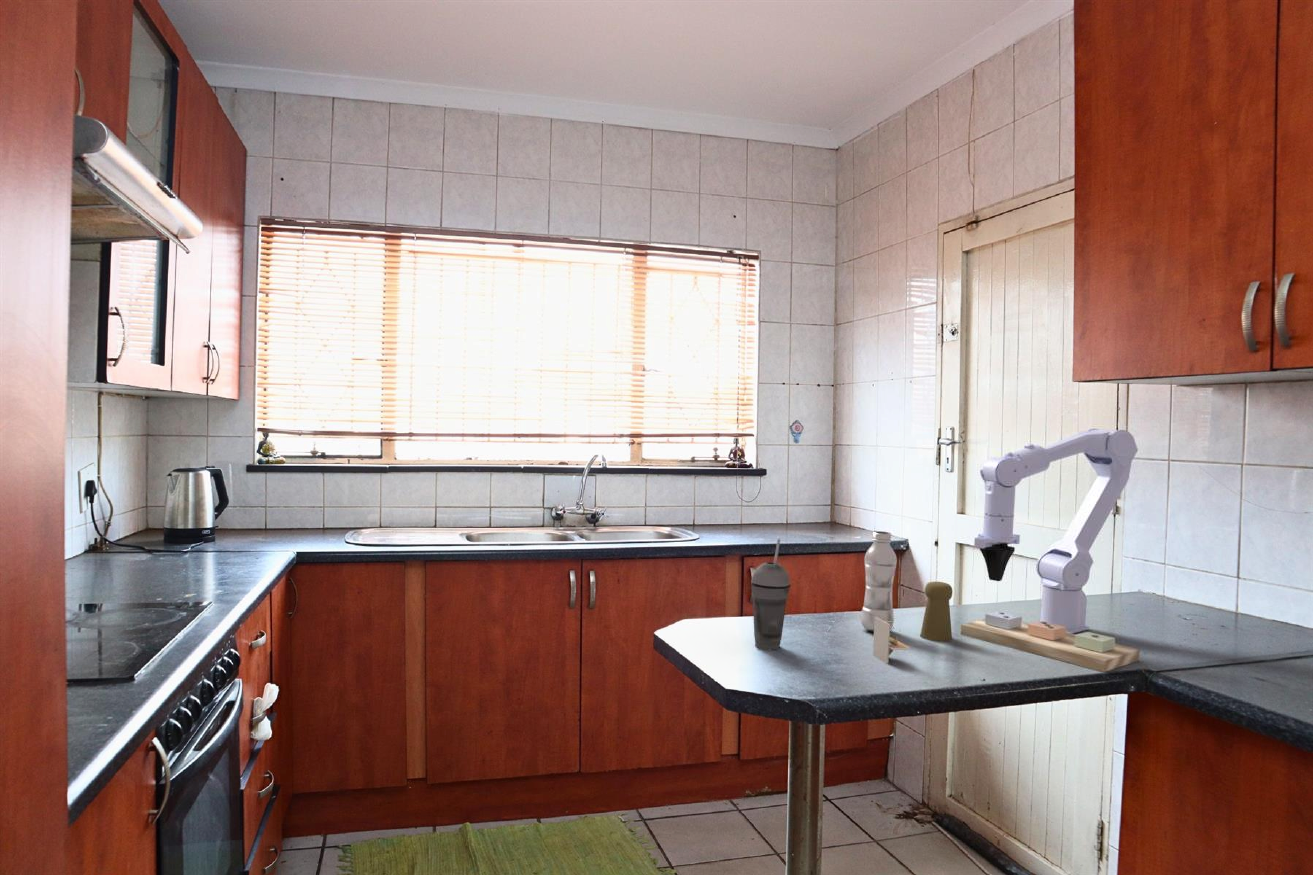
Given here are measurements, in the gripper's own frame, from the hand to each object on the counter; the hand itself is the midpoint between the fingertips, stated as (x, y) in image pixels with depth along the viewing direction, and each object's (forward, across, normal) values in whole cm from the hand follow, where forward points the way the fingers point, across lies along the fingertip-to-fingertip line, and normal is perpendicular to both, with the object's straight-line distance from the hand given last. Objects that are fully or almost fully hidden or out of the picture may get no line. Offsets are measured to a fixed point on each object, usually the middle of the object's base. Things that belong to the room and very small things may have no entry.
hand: (995, 580), depth 173 cm
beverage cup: (+10, +52, -15) cm, 55 cm away
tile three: (+8, +4, +13) cm, 16 cm away
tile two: (+8, +3, +4) cm, 10 cm away
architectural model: (+11, +39, +2) cm, 41 cm away
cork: (+10, +17, -2) cm, 20 cm away
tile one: (+8, +4, +22) cm, 24 cm away
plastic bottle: (+10, +24, -11) cm, 29 cm away
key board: (+10, +4, +13) cm, 17 cm away
